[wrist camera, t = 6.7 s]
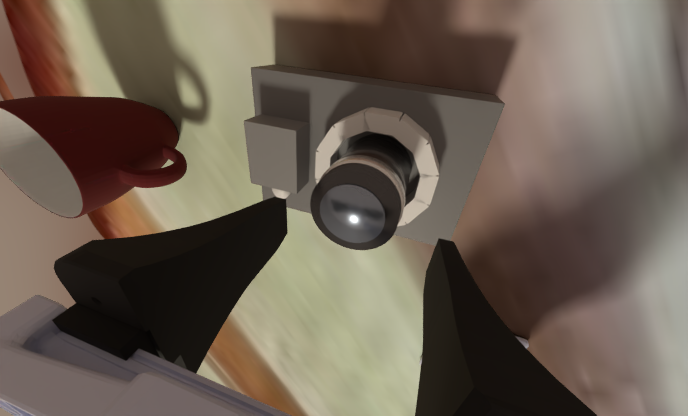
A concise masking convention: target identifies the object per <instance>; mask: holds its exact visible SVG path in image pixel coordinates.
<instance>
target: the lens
mask: <svg viewBox="0 0 688 416" xmlns="http://www.w3.org/2000/svg"><path fill="white" fill-rule="evenodd" d="M410 173H411V161H410V157H409V154H408V152H407V151H406V149H405V148H404V147H403V145H402V144H401V143H399V142H398V141H397V140H395V139H394V138H392V137H389V136H386V135H382V134H371V135H367V136H364V137H362V138H360V139H359V140H357V141H356V142H355V143H354V144H353V145H352V146H351V147H350V148H349V149H348V150H347V151H346V153H345V154H344V155H343V156H342V157H341V158H340V159H339V160H338V161H336V162H335V163H333V164H332V165H331V166H330V167H329V168H328V169H327V171H326V172H325V173H324V174H323V175H322V177H321V178H320V180H319V182H318V183H317V185H316V186H315V188H314V190H313V192H312V195H311V200H310V208H311V213H312V216H313V219H314V221H315V223H316V225H317V226H318V228H319V229H320V230H321V231H322V233H323V234H324V235H325V236H327V237H328V238H329V239H330V240H332V241H333V242H335V243H337V244H339V245H341V246H343V247H346V248H350V249H355V250H368V249H373V248H377V247H379V246H381V245H383V244H385V243H386V242H387V241H388V240H390V238H391V237H392V236H393V235H394V233H395V231H396V229H397V226H398V224H399V222H400V220H401V218H402V214H403V210H404V206H405V194H406V190H407V186H408V182H409V177H410Z"/></svg>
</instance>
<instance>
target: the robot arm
mask: <svg viewBox="0 0 688 416" xmlns="http://www.w3.org/2000/svg"><path fill="white" fill-rule="evenodd" d="M286 234H287V209H286V199H282V198H279V197H272V198H269V199H266V200H264V201H261V202H259V203H256V204H254V205H251V206H249V207H246V208H244V209H241V210H239V211H236V212H234V213H231V214H228V215H225V216H222V217H220V218H217V219H214V220H211V221H208V222H204V223H201V224H197V225H193V226H190V227H185V228H181V229H176V230H171V231H166V232H161V233H156V234H149V235H142V236H135V237H127V238H115V239H104V240H92V241H90V242H88V243H87V244H85V245H83V246H81V247H79V248H78V249H76V250H74V251H72V252H70V253H68V254H66V255H65V256H63V257H61V258H59V259H58V260H56V261H55V264H54V270H55V273H56V275H57V276H58V278H59V279H60V281H61V282H62V284H63V285H64V286H65V288H66V289H67V291H68V292H69V293H70V295H71V296H72V298H73V299H74V300H75V302H76V304H74V305H73V306H72V307H70V308H69V309H66V308H65V307H64V306H63V305H61V304H59V303H57V302H55V301H53V300H50V299H48V298H46V297H43V296H41V295H35V296H34V297H32V298H30V299H28V300H27V301H25V302H23V303H22V304H20V305H19V306H17V307H15V308H14V309H12V310H10V311H9V312H7V313H5V314H4V315H2V316H1V317H0V407H1V408H2V409H4V410H6V411H7V412H9V413H11V414H12V415H14V416H291V415H289V414H287V413H284V412H282V411H280V410H278V409H275V408H273V407H271V406H268V405H266V404H264V403H262V402H259V401H257V400H255V399H253V398H250V397H248V396H246V395H243V394H241V393H239V392H237V391H234V390H232V389H230V388H228V387H225V386H223V385H221V384H218V383H216V382H214V381H212V380H209V379H207V378H205V377H203V376H200V375H198V374H196V373H197V371H198V369H199V367H200V365H201V363H202V361H203V359H204V358H205V356H206V354H207V352H208V350H209V348H210V346H211V345H212V343H213V341H214V339H215V338H216V336H217V334H218V332H219V331H220V329H221V327H222V325H223V324H224V322H225V321H226V319H227V317H228V316H229V314H230V312H231V311H232V309H233V308H234V306H235V304H236V303H237V301H238V300H239V298H240V297H241V295H242V294H243V292H244V291H245V289H246V288H247V287H248V285H249V284H250V283H251V281H252V280H253V279H254V278H255V277H256V275H257V274H258V273H259V272H260V270H261V269H262V268H263V267H264V266H265V264H266V263H267V262H268V261H269V259H270V258H271V257H272V256H273V254H274V253H275V252H276V251H277V249H278V248H279V246H280V245H281V243H282V241H283V240H284V238H285V236H286ZM528 346H529V344H528V341H527V340H526V339H524V338H520V337H517V336H515V335H514V334H513V333H512V332H511V331H510V330H509V329H508V327H507V326H506V325H505V324H504V323H503V321H502V320H501V319H500V317H499V316H498V315H497V314H496V312H495V311H494V310H493V308H492V307H491V306H490V304H489V303H488V301H487V300H486V299H485V297H484V295H483V294H482V292H481V291H480V289H479V288H478V286H477V284H476V283H475V281H474V279H473V278H472V276H471V274H470V272H469V271H468V269H467V267H466V265H465V263H464V261H463V259H462V257H461V255H460V253H459V251H458V249H457V247H456V245H455V243H454V242H453V241H449V240H445V239H441V238H438V241H437V244H436V247H435V249H434V252H433V255H432V258H431V260H430V263H429V266H428V269H427V271H426V277H425V285H424V293H423V353H422V357H421V359H420V365H421V372H420V381H419V389H418V397H417V405H416V413H415V416H597V415H596V414H595V413H594V412H593V411H592V410H591V409H589V408H588V407H587V406H586V405H585V404H584V403H583V402H582V401H580V400H579V399H578V398H577V397H576V396H575V395H574V394H573V393H571V392H570V391H569V390H568V389H567V388H566V387H565V386H564V385H562V384H561V383H560V382H559V381H558V380H557V379H556V378H555V377H554V376H553V375H552V374H551V373H550V372H549V371H548V370H547V369H546V368H545V367H544V366H543V365H542V364H541V363H540V362H539V361H538V360H537V359H536V358H535V357H534V356H533V355H532V354H531V353H530V352H529V351H528V350H527V348H528Z"/></svg>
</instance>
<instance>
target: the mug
mask: <svg viewBox="0 0 688 416" xmlns="http://www.w3.org/2000/svg"><path fill="white" fill-rule="evenodd" d="M177 143H178V133H177V130H176V127H175V125H174V124H173V122H172V121H171V119H170V118H169V117H168V116H167V115H166V114H165V113H164V112H163V111H161V110H159V109H157V108H155V107H152V106H149V105H146V104H143V103H140V102H136V101H133V100H129V99H124V98H116V97H71V96H39V97H28V98H20V99H12V100H6V101H0V168H1V170H2V171H3V172H4V173H5V174H6V175H7V177H8V178H9V179H10V180H11V181H12V182H13V183H14V184H15V185H16V186H17V187H18V188H19V189H20V190H21V191H22V192H24V193H25V194H26V195H27V196H28V197H29V198H31V199H32V200H33V201H35V202H36V203H37V204H39V205H41V206H42V207H44V208H45V209H47V210H49V211H50V212H52V213H54V214H56V215H59V216H62V217H66V218H77V217H80V216H82V215H84V214H87V213H89V212H91V211H93V210H96V209H98V208H100V207H102V206H104V205H106V204H108V203H110V202H112V201H114V200H116V199H117V198H119V197H121V196H122V195H124V194H125V193H126V192H128V191H129V190H131V189H132V188H134V187H141V188H154V187H161V186H165V185H169V184H171V183H174V182H176V181H178V180H179V179H181V178H182V177H183V176H184V174H185V172H186V170H187V163H186V160H185V157H184V156H183V154H182V153H180V152H179V151H178V150H176V149H175V147H176V146H177ZM168 159H170V160H171V161H173V162H174V163H173V164H172V165H170V166H167V167H164V168H161V167H162V166H163V165H164V164H165V163H166V162H167V160H168Z"/></svg>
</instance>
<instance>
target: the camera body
mask: <svg viewBox="0 0 688 416" xmlns="http://www.w3.org/2000/svg"><path fill="white" fill-rule="evenodd" d="M251 75H252V85H253V96H254V107H255V117H252V118H250V119H247V120H245V121H244V127H245V136H246V144H247V153H248V161H249V170H250V178H251V183H253V184H258V185H262V193H263V201H264V200H266V199H269V198H272V197H279V198H282V199H286V207H288V208H292V209H296V210H300V211H304V212H308V213H311V208H310V200H311V195H312V192H313V190H314V188H315V186H316V185H317V183H318V182H319V180H320V178H321V177H322V175H323V174H324V173H325V172H326V171H327V169H328V168H329V167H330V166H331V165H332V164H333V163H335V162H336V161H338V160H339V159H340V158H341V157H342V156H343V155H344V154H345V153H346V151H347V150H348V149H349V148H350V147H351V146H352V145H353V144H354V143H355V142H356V141H357V140H359V139H360V138H362V137H364V136H367V135H371V134H382V135H386V136H389V137H392V138H394V139H395V140H397V141H398V142H399V143H401V144H402V145H403V147H404V148H405V149H406V151H407V152H408V154H409V157H410V161H411V173H410V177H409V182H408V186H407V190H406V194H405V206H404V210H403V214H402V218H401V220H400V222H399V224H398V226H397V229H396V231H395V233H394V235H396V236H400V237H404V238H408V239H412V240H415V241H419V242H423V243H427V244H431V245H435V246H436V244H437V241H438V238H441V239H445V240H449V241H450V240H451V237H452V235H453V232H454V230H455V227H456V225H457V222H458V220H459V217H460V215H461V212H462V210H463V207H464V205H465V202H466V200H467V197H468V195H469V192H470V190H471V187H472V185H473V182H474V180H475V177H476V175H477V172H478V170H479V167H480V165H481V162H482V160H483V158H484V155H485V153H486V150H487V148H488V145H489V143H490V140H491V138H492V135H493V133H494V130H495V128H496V125H497V123H498V120H499V118H500V115H501V113H502V110H503V108H504V105H505V103H503V102H502V101H501V100H500V99H499V98H498V97H497V96H496V95H491V94H484V93H477V92H470V91H462V90H455V89H448V88H441V87H433V86H426V85H419V84H412V83H405V82H397V81H390V80H383V79H376V78H368V77H361V76H354V75H347V74H339V73H332V72H325V71H318V70H310V69H303V68H296V67H289V66H281V65H268V66H259V67H251ZM311 214H312V213H311Z"/></svg>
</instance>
